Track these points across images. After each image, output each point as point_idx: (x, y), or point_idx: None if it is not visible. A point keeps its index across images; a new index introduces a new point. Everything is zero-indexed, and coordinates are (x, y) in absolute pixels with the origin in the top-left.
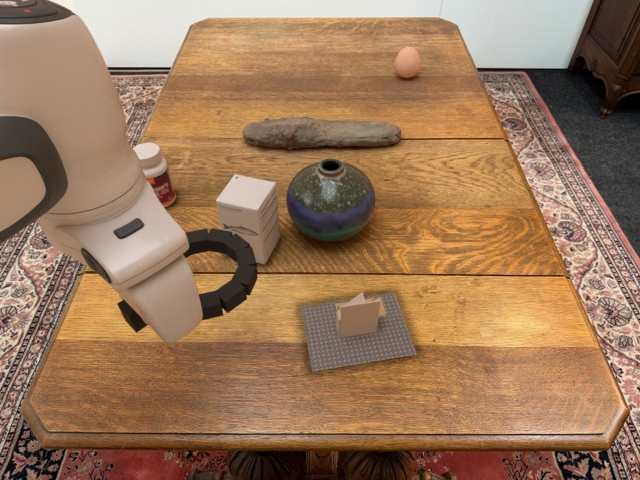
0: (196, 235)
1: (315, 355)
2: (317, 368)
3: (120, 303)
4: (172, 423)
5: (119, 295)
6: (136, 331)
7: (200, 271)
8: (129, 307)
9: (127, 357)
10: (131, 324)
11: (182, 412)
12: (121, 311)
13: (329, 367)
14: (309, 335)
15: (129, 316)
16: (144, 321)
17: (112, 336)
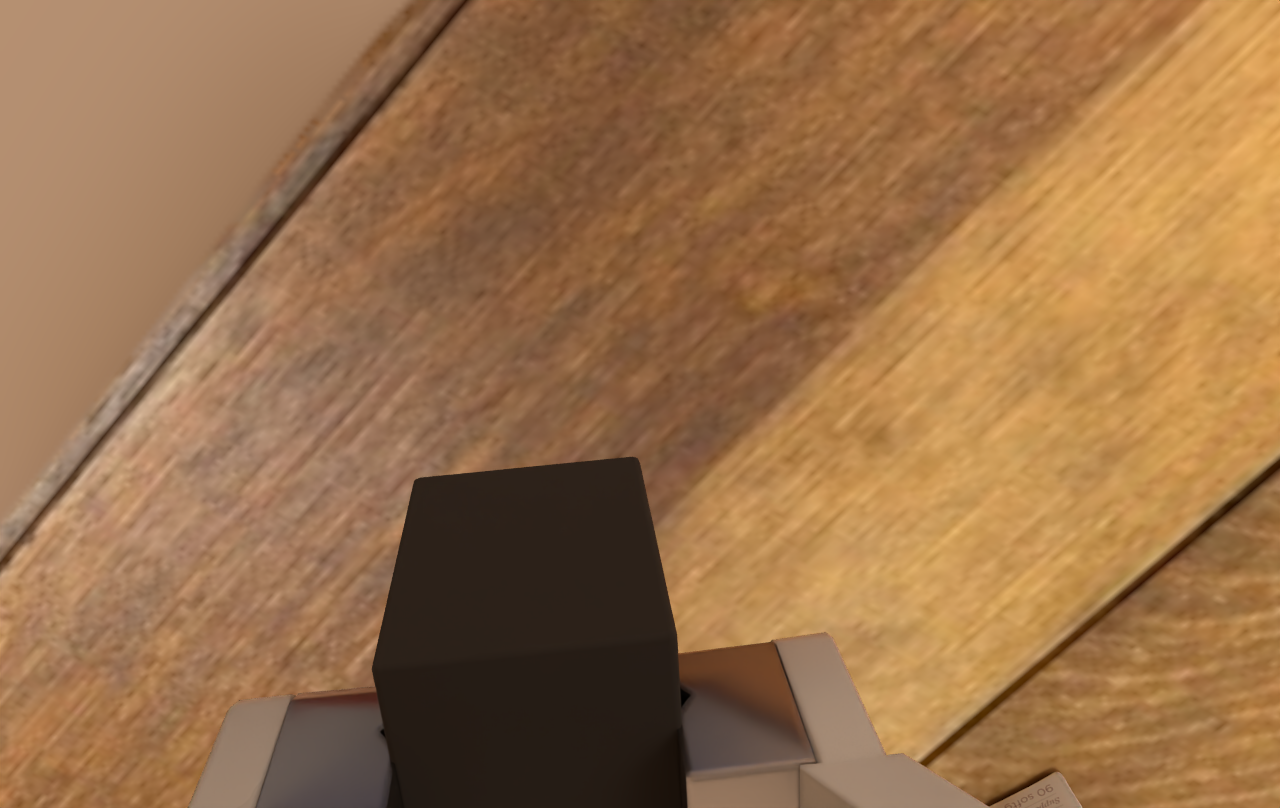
0: None
1: None
2: None
3: (642, 668)
4: (439, 116)
5: (826, 665)
6: (411, 493)
7: (1086, 636)
8: (490, 728)
9: (939, 118)
10: (433, 537)
11: (459, 184)
12: (615, 567)
13: None
14: None
15: (374, 661)
16: (226, 732)
17: (1115, 116)
